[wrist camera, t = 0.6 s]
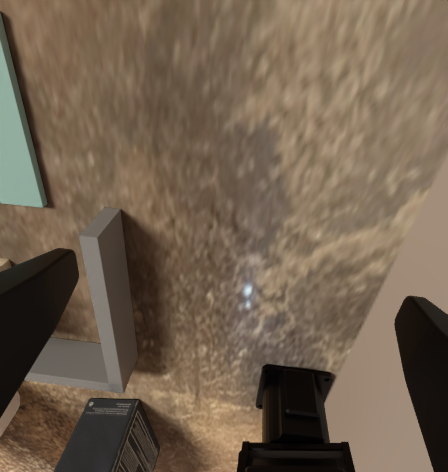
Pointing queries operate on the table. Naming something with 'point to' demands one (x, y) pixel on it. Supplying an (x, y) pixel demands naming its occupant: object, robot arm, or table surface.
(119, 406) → the small box
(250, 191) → the table surface
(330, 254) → the table surface
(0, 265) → the cream block
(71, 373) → the grey l-shaped bracket
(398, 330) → the robot arm
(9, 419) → the cylinder
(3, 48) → the teal mat
